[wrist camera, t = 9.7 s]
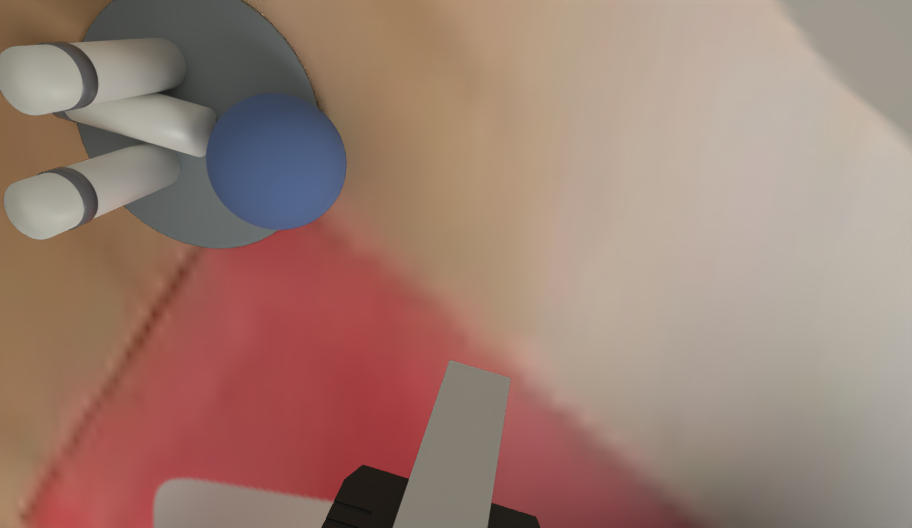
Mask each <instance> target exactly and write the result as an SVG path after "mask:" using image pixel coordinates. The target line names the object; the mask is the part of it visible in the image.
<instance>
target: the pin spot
mask: <svg viewBox="0 0 912 528" xmlns="http://www.w3.org/2000/svg"><path fill="white" fill-rule="evenodd" d="M157 37H159V38H165V39H168V40H170V41H171V42H173V43H174V44H175V45H176V46H177V47H178V48H179V49H180V51H181V52H182V54H183V56H184V59H185V63H186V75H185V78H184V80H183V82H182V83H181V84H180V85H179V86H178V87H176V88H174V89H171V90H166V91H161V92H156V93H160V94H163V95H167V96H170V97H174V98H177V99H180V100H184V101H187V102H191V103H194V104H198V105H201V106H205V107H208V108H211V109H213V110H214V112H215V114H216V123H217V121H218V120H219V119H220V118H221V116H222V115H223V114H224V113H225V112H226V111H227V110H228V109H229V108H231V107H232V106H233V105H235V104H236V103H238V102H240V101H242V100H244V99H246V98H249V97H252V96H255V95H260V94H266V93H280V94H287V95H292V96H295V97H298V98H301V99H303V100H305V101H307V102H309V103H311V104H312V105H314V106H315V107H317V108H318V105H317V101H316V98H315V95H314V91H313V88H312V86H311V83H310V81H309V78H308V76H307V74H306V71H305V69H304V68H303V66H302V64H301V62H300V60H299V59H298V57H297V55H296V53H295V52H294V51H293V49H292V48H291V46H290V45H289V44H288V42H287V41H286V39H285V38H284V37H283V36H282V35H281V34H280V33H279V31H278V30H277V29H276V28H275V27H274V26H273V25H272V24H271V23H270V22H269V21H268V20H267V19H266V18H264V17H263V16H262V15H261V14H260V13H259V12H257V11H256V10H255V9H253V8H252V7H250V6H249V5H247V4H246V3H244V2H243V1H241V0H114V1H113V2H111V3H110V4H109V5H108V6H107V7H106V8H105V9H104V10H103V11H102V12H101V13H100V14H99V15H98V16H97V17H96V19H95V20H94V22H93V23H92V24H91V26H90V27H89V29H88V31H87V33H86V35H85V37H84V39H83V41H82V42H92V41H108V40H124V39H140V38H157ZM77 125H78V128H79V132H80V135H81V138H82V142H83V144H84V146H85V149H86V151H87V153H88V156H89V158H90V159H91V158H94V157H97V156H101V155H104V154H107V153H110V152H114V151H117V150H120V149H123V148H127V147H130V146H133V145H136V144H140V143H143V142H145V141H142V140H138V139H135V138H131V137H128V136H125V135H121V134H118V133H114V132H111V131H107V130H104V129H101V128H97V127H94V126H90V125H87V124H84V123H80V122H77ZM174 152H175V153H176V155H177V157H178V159H179V162H180V174H179V177H178V179H177V180H176V181H175V182H174V183H173V184H171V185H169V186H167V187H165V188H162V189H160V190H158V191H155V192H153V193H151V194H149V195H146V196H144V197H142V198H140V199H137V200H135V201H133V202H130V203H128V204H126V205H124V206H125V207H126V208H127V209H128V210H129V211H130V212H131V213H132V214H134V215H135V216H136V217H137V218H139V219H140V220H141V221H142V222H144V223H145V224H147V225H148V226H150V227H152V228H153V229H155V230H156V231H158V232H160V233H162V234H164V235H166V236H168V237H170V238H172V239H175V240H178V241H181V242H184V243H186V244H191V245H195V246H199V247H206V248H234V247H240V246H245V245H248V244H252V243H255V242H258V241H260V240H262V239H264V238H266V237H268V236H270V235H272V234H273V233H275V232H276V231H277V230H272V229H266V228H261V227H258V226H255V225H252V224H250V223H247V222H246V221H244V220H242V219H240V218H239V217H237V216H236V215H235V214H233V213H232V212H231V211H230V210H229V209H228V208H227V207H226V206H225V205H224V204H223V203H222V202H221V201H220V199H219V198H218V196H217V195H216V193H215V191H214V190H213V187H212V185H211V183H210V180H209V176H208V172H207V166H206V155H205V156H203V157H196V156H193V155H189V154H186V153H183V152H179V151H176V150H174Z"/></svg>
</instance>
